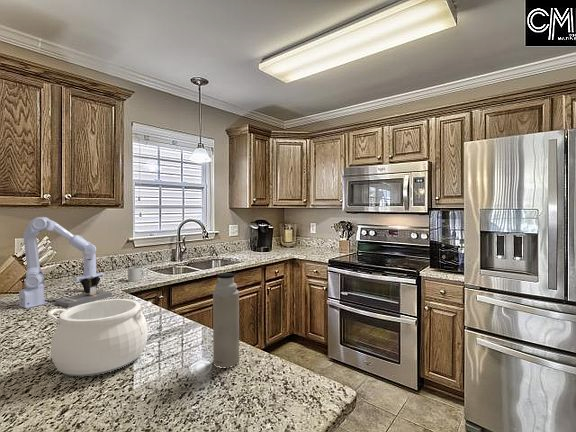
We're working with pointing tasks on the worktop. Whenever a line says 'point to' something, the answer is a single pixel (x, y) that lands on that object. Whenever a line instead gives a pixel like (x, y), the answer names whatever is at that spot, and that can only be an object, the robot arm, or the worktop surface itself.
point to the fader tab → (91, 289)
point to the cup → (135, 274)
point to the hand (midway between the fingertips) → (90, 292)
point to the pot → (98, 336)
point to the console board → (82, 298)
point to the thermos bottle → (225, 321)
